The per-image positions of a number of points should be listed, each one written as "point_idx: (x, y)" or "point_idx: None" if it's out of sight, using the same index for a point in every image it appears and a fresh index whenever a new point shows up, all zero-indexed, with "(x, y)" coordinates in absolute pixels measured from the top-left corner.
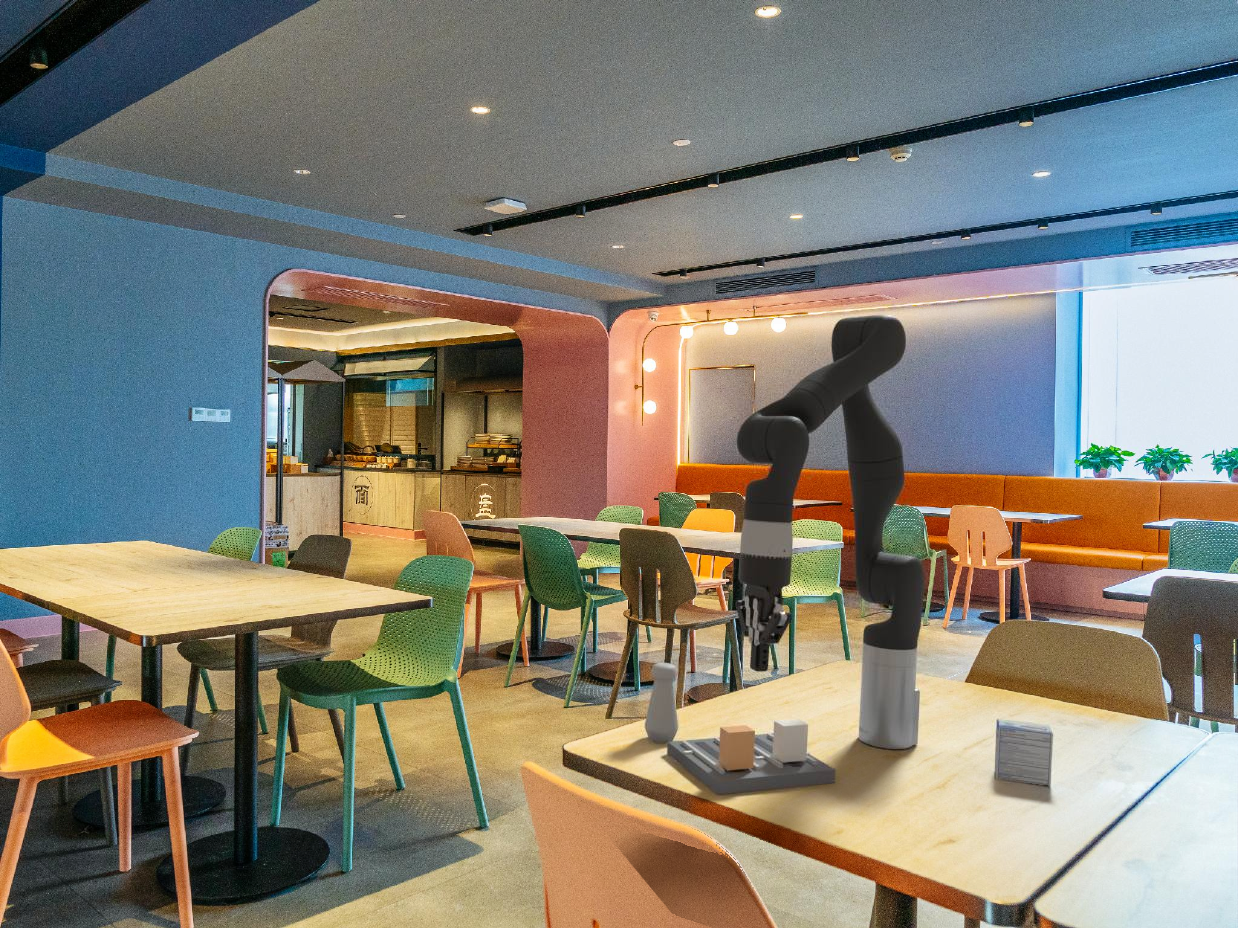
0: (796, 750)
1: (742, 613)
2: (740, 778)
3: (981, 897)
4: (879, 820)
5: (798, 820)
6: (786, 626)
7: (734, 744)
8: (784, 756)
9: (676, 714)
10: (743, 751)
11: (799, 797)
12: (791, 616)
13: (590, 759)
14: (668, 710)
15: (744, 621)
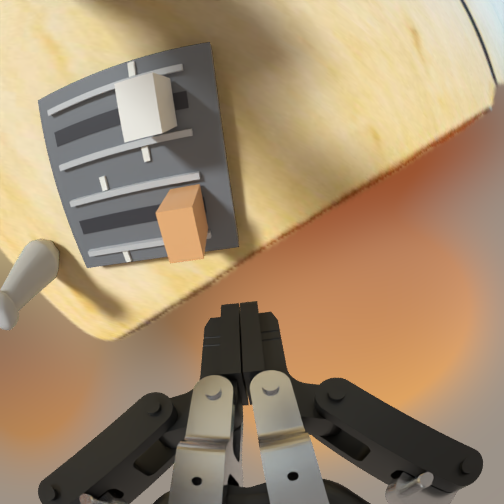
0: (168, 98)
1: (136, 495)
2: (232, 213)
3: (487, 108)
4: (357, 64)
5: (336, 167)
6: (438, 434)
7: (203, 236)
8: (174, 122)
9: (30, 255)
10: (200, 213)
11: (263, 127)
12: (482, 460)
13: (127, 333)
14: (38, 274)
15: (161, 473)
